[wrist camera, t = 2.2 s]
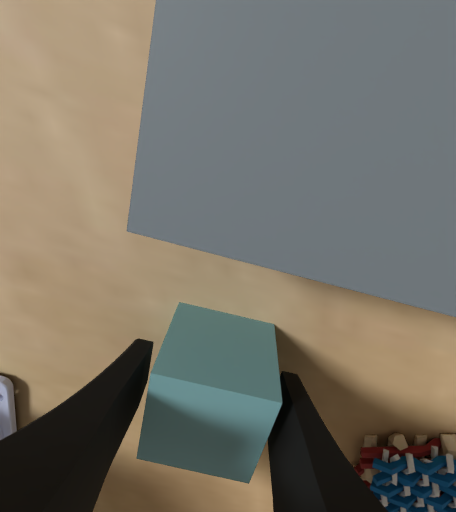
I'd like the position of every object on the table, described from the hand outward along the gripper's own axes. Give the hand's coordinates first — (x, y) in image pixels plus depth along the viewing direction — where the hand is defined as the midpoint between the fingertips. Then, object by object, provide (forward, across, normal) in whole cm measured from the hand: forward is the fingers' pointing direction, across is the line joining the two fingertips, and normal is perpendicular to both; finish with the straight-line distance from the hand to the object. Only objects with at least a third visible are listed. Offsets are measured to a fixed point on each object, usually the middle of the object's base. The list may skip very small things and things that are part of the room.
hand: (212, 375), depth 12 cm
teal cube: (+2, 0, 0) cm, 2 cm away
